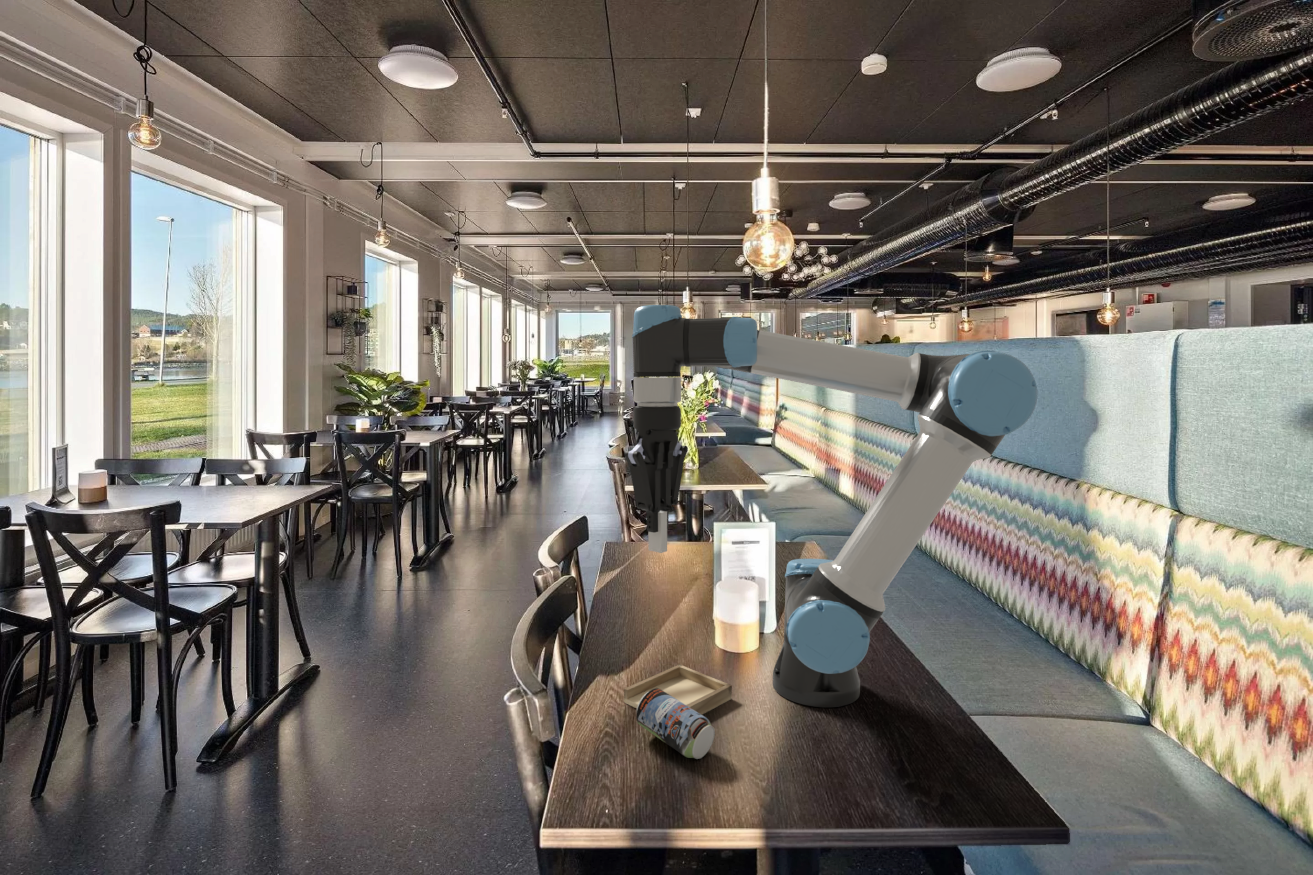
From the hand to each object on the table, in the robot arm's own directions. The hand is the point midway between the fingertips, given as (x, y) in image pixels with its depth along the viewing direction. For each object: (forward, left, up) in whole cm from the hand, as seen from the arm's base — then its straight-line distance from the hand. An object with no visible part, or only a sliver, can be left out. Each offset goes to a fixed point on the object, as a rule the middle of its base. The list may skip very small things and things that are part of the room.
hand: (657, 550), depth 111 cm
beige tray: (0, -5, -27) cm, 27 cm away
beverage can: (-3, +6, -23) cm, 24 cm away
